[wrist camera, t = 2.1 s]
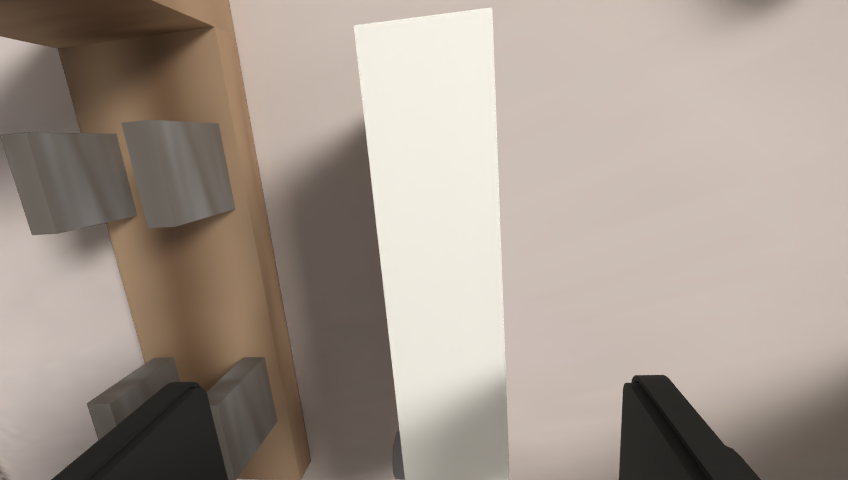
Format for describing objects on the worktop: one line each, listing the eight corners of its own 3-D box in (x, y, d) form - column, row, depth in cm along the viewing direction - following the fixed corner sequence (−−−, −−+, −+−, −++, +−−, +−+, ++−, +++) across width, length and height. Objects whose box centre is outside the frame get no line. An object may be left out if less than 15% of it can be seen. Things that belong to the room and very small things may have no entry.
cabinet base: (226, -13, 18) (-475, -430, 5) (310, 461, 24) (106, 855, 11) (76, 10, 19) (-822, -273, 6) (193, 456, 26) (-122, 808, 12)
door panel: (484, 77, 18) (491, 7, 8) (499, 420, 22) (515, 637, 13) (397, 86, 18) (310, 31, 9) (428, 419, 23) (391, 625, 13)
